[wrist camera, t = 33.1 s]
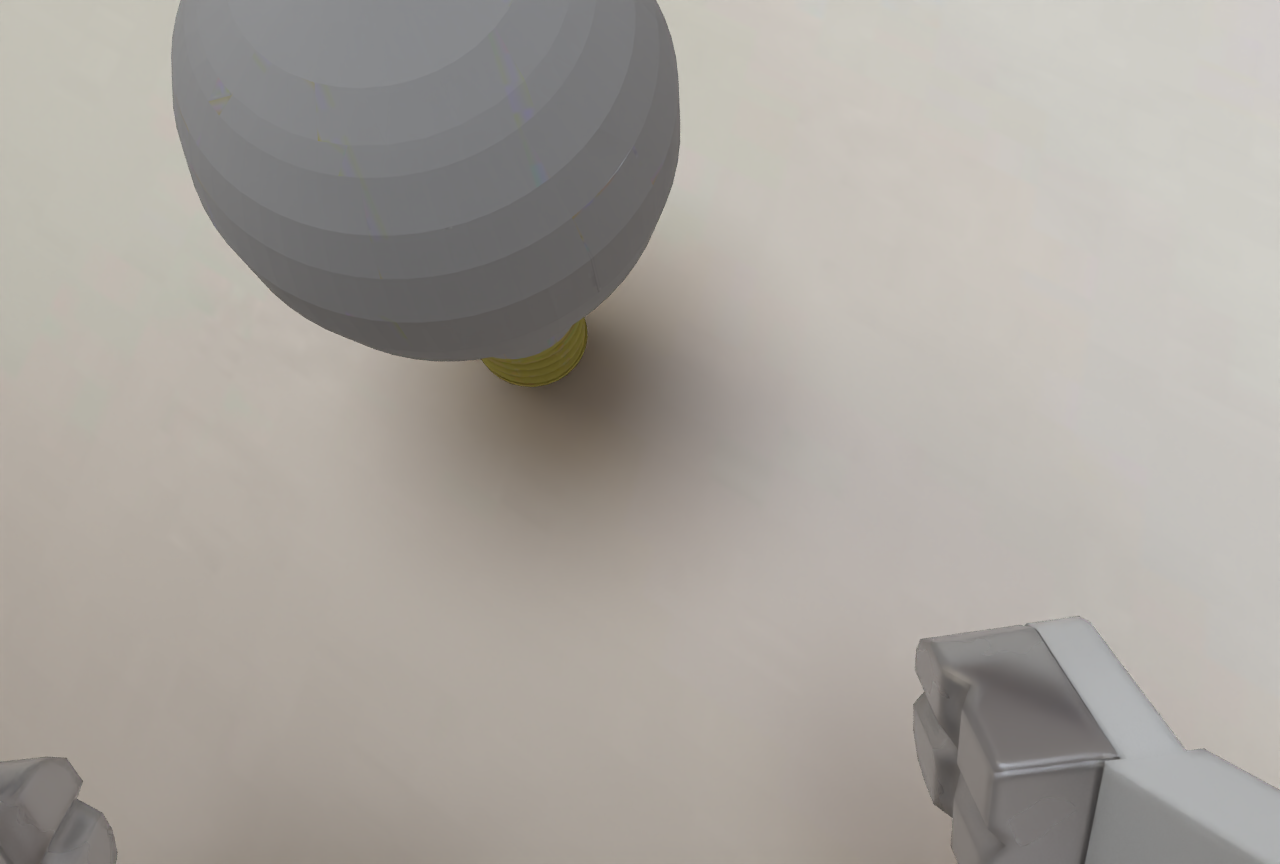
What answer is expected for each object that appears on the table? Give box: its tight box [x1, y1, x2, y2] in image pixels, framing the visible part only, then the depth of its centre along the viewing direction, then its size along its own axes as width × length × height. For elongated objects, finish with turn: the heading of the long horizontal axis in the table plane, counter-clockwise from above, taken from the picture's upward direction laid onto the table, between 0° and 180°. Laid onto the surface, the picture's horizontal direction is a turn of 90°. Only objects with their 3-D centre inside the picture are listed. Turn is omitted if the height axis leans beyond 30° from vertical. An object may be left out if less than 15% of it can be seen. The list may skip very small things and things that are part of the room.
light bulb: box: [171, 0, 680, 387], centre depth 13 cm, size 6×6×10 cm
